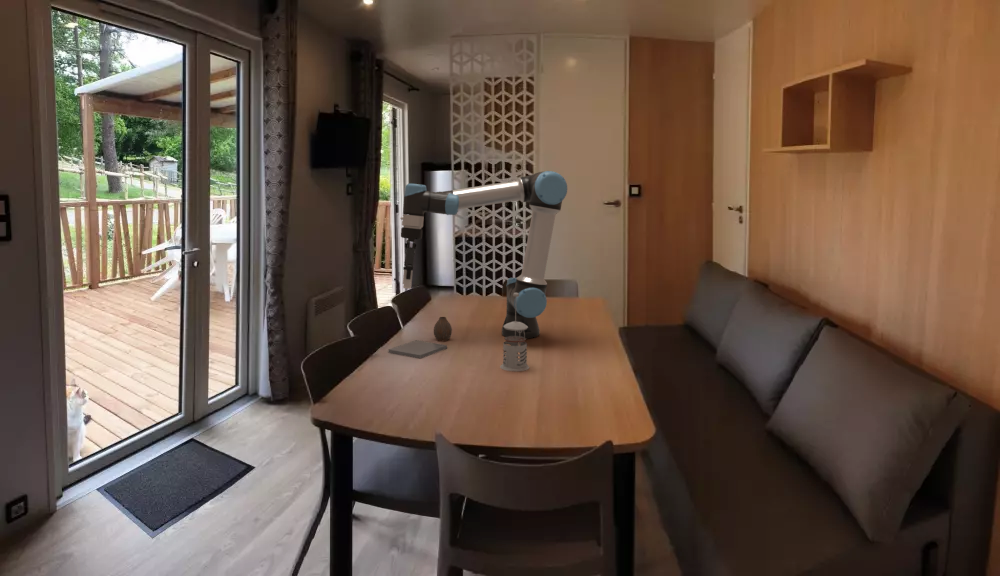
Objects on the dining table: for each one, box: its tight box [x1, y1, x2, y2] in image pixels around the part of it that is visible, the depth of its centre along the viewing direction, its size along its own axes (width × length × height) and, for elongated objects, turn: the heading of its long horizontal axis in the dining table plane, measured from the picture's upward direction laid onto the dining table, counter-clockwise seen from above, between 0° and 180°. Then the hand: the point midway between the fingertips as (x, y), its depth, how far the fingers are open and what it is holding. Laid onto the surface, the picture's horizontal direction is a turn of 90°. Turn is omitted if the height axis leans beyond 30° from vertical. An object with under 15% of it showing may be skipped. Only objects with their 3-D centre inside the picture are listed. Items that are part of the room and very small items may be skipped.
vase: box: [433, 316, 453, 342], centre depth 247 cm, size 7×7×9 cm
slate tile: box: [388, 339, 448, 359], centre depth 231 cm, size 14×16×1 cm
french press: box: [499, 293, 530, 372], centre depth 212 cm, size 10×12×25 cm
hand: (406, 286), depth 232 cm, fingers open, 13 cm apart
